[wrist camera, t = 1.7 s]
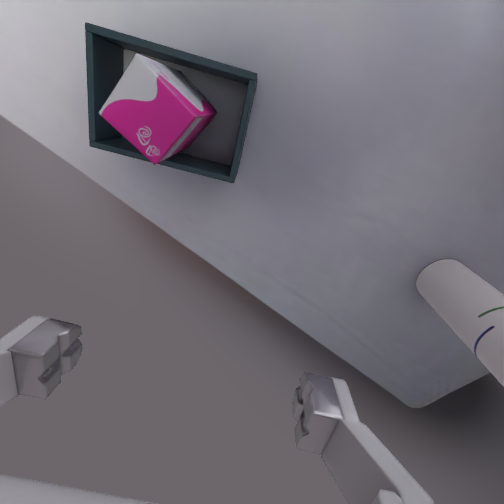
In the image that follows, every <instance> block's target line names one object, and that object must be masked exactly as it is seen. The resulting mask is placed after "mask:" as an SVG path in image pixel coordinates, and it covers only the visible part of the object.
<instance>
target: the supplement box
mask: <svg viewBox="0 0 504 504" xmlns="http://www.w3.org/2000/svg"><path fill="white" fill-rule="evenodd" d="M99 114H100V115H101V116H102V117H103V118H104V119H105V120H106V121H107V122H108V123H110V124H111V125H112V126H113V127H114V128H115V129H116V130H117V131H118V132H119V133H121V134H122V135H123V136H124V137H125V138H126V139H127V140H128V141H129V142H130V143H132V144H133V145H134V146H135V147H136V148H137V149H138V150H139V151H140V152H141V153H142V154H143V155H145V156H146V157H147V158H148V159H149V160H150V161H151V162H152V163H153V164H154V165H155V164H158V163H160V162H162V161H163V160H165V159H167V158H169V157H171V156H173V155H174V154H176V153H178V152H180V151H182V150H184V149H186V148H188V147H189V145H190V144H191V143H192V142H193V141H194V140H195V139H196V137H197V136H198V135H199V134H200V133H201V132H202V131H203V129H204V128H205V127H206V126H207V125H208V124H209V122H210V121H211V120H212V119H213V118H214V117H215V115H216V114H217V112H216V110H215V109H214V108H213V107H212V105H211V104H210V103H209V102H208V101H207V100H206V99H205V97H204V96H203V95H202V94H201V93H200V92H199V91H198V90H197V89H196V87H195V86H194V85H193V84H192V83H191V82H190V81H189V80H188V79H187V78H186V77H185V76H184V75H183V73H182V72H181V71H178V70H175V69H173V68H170V67H168V66H166V65H163V64H161V63H159V62H157V61H154V60H152V59H149V58H147V57H145V56H142V55H140V54H138V53H136V55H135V56H134V58H133V59H132V61H131V63H130V64H129V66H128V67H127V69H126V71H125V72H124V74H123V76H122V77H121V79H120V80H119V82H118V83H117V85H116V87H115V88H114V90H113V92H112V93H111V95H110V96H109V98H108V99H107V101H106V102H105V104H104V105H103V107H102V108H101V110H100V111H99Z"/></svg>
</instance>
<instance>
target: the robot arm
mask: <svg viewBox="0 0 504 504" xmlns="http://www.w3.org/2000/svg"><path fill="white" fill-rule="evenodd" d="M81 334H82V331H81V326H79V325H77V324H73V323H68V322H64V321H60V320H55V319H50V318H45V317H42V316H38V315H37V316H32V317H30V318H29V319H28V320H26V321H25V322H23V323H22V324H20V325H19V326H17V327H16V328H15V329H13V330H12V331H11V332H9V333H8V334H6V335H5V336H4V337H2V338H1V339H0V406H2V405H4V404H6V403H7V402H9V401H11V400H13V399H14V398H16V397H18V395H23V396H29V397H35V398H41V399H46V398H47V397H48V396H49V395H50V394H51V393H52V392H53V390H54V389H55V388H56V387H57V386H58V385H59V384H60V383H61V375H63V374H66V373H67V372H70V371H71V370H72V369H73V368H74V366H75V365H76V364H77V362H78V360H79V358H80V356H81V352H82V343H81V342H80V340H79V339H78V337H79V336H80V335H81ZM300 385H301V386H299V387H298V388H296V391H295V393H294V398H293V417H294V418H295V420H296V421H297V424H296V427H295V429H294V430H295V440H296V448H297V450H301V451H305V452H310V453H314V454H318V455H321V458H322V459H323V461H324V463H325V465H326V466H327V468H328V470H329V472H330V473H331V475H332V477H333V478H334V480H335V482H336V483H337V485H338V487H339V489H340V491H341V492H342V494H343V496H344V498H345V499H346V501H347V502H348V504H434V502H433V500H432V498H431V497H430V496H429V495H428V494H427V493H426V492H425V490H424V489H423V488H422V487H421V486H420V485H419V484H418V483H417V482H416V480H415V479H414V478H413V477H412V476H411V475H410V474H409V473H408V472H407V470H406V469H405V468H404V467H403V466H402V465H401V464H400V463H399V462H398V461H397V459H396V458H395V457H394V456H393V455H392V454H391V453H390V452H389V450H388V449H387V448H386V447H385V446H384V445H383V444H382V443H381V442H380V441H379V439H378V438H377V437H376V436H375V435H374V434H373V433H372V432H371V431H370V430H369V428H368V427H367V426H366V425H365V424H362V423H360V421H359V418H358V415H357V412H356V409H355V406H354V404H353V400H352V398H351V395H350V392H349V389H348V386H347V383H346V382H345V380H342V379H336V378H332V377H331V378H330V377H326V376H321V375H316V374H311V373H306V372H304V373H303V374H302V375H301V378H300ZM0 504H157V503H152V502H146V501H141V500H136V499H130V498H125V497H119V496H114V495H109V494H104V493H98V492H93V491H88V490H83V489H77V488H72V487H66V486H61V485H56V484H51V483H45V482H40V481H34V480H29V479H24V478H19V477H14V476H8V475H3V474H0Z"/></svg>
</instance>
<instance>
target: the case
mask: <svg viewBox="0 0 504 504" xmlns="http://www.w3.org/2000/svg"><path fill="white" fill-rule="evenodd" d="M85 30H86V32H85V34H86V61H87V88H88V114H89V140H90V147H94V148H98V149H102V150H106V151H110V152H114V153H118V154H121V155H125V156H129V157H133V158H137V159H141V160H145V161H149V162H151V161H150V160H149V159H148V158H147V157H146V156H145V155H143V154H142V153H141V152H140V151H139V150H138V149H137V148H136V147H135V146H134V145H133V144H132V143H130V142H129V141H128V140H127V139H126V138H122V134H121V133H119V132H118V131H117V130H116V129H115V128H114V127H113V126H112V125H111V124H110V123H108V122H107V121H106V120H105V119H104V118H103V117H102V116H101V115H100V114H99V111H100V110H101V108H102V107H103V105H104V104H105V102H106V101H107V99H108V98H109V96H110V95H111V93H112V92H113V90H114V88H115V87H116V85H117V83H118V82H119V80H120V79H121V77H122V76H123V48H125V49H128V50H131V51H135V52H138V53H142V54H145V55H148V56H152V57H155V58H159V59H162V60H165V61H169V62H172V63H176V64H179V65H182V66H186V67H189V68H193V69H196V70H199V71H203V72H206V73H210V74H213V75H216V76H220V77H223V78H227V79H230V80H233V81H237V82H240V83H244V84H247V85H248V88H247V93H246V98H245V103H244V108H243V113H242V118H241V122H240V127H239V132H238V137H237V142H236V147H235V151H234V156H233V161H232V166H229V165H225V164H221V163H217V162H214V161H210V160H206V159H202V158H198V157H195V156H191V155H187V154H183V153H179V152H178V153H176V154H174V155H173V156H171V157H169V158H167V159H165V160H163V161H162V162H160V163H158V164H160V165H164V166H168V167H172V168H176V169H180V170H184V171H188V172H192V173H196V174H199V175H203V176H207V177H211V178H215V179H219V180H223V181H227V182H231V183H234V181H235V178H236V175H237V172H238V168H239V164H240V159H241V154H242V150H243V145H244V141H245V136H246V132H247V127H248V123H249V118H250V113H251V109H252V104H253V100H254V95H255V91H256V86H257V73H253V72H250V71H247V70H243V69H240V68H237V67H233V66H230V65H227V64H223V63H220V62H217V61H213V60H210V59H207V58H203V57H200V56H197V55H193V54H190V53H187V52H183V51H180V50H177V49H173V48H170V47H166V46H163V45H160V44H156V43H153V42H150V41H146V40H143V39H140V38H136V37H133V36H130V35H126V34H123V33H120V32H116V31H113V30H110V29H106V28H103V27H100V26H96V25H93V24H90V23H85Z"/></svg>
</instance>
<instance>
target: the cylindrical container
mask: <svg viewBox="0 0 504 504" xmlns="http://www.w3.org/2000/svg"><path fill="white" fill-rule="evenodd" d="M416 288H417V290H418V292H419V293H420V294H421V295H422V296H423V297H424V299H425V300H426V301H427V302H428V303H429V304H430V305H431V306H432V307H433V309H434V310H435V311H436V312H437V313H438V314H439V315H440V316H441V317H442V319H443V320H444V321H445V322H446V323H447V324H448V325H449V326H450V327H451V329H452V330H453V331H454V332H455V333H456V334H457V335H458V336H459V338H460V339H461V340H462V341H463V342H464V343H465V344H466V345H467V346H468V348H469V349H470V350H471V351H472V352H473V353H474V354H475V355H476V356H477V357H478V359H479V360H480V361H481V362H482V363H483V364H484V365H485V366H486V368H487V369H488V370H489V371H490V372H491V373H492V374H493V375H494V376H495V377H496V379H497V380H498V381H499V382H500V383H501V384H502V385H503V386H504V295H503V294H502V293H501V292H499V291H498V290H497V289H495V288H494V287H493V286H491V285H490V284H489V283H487V282H486V281H484V280H483V279H482V278H480V277H479V276H478V275H476V274H475V273H474V272H472V271H471V270H470V269H468V268H467V267H465V266H464V265H463V264H461V263H460V262H458V261H456V260H452V259H444V260H439V261H436V262H434V263H432V264H430V265H428V266H427V267H425V268H424V269H423V270H422V271H421V273H420V274H419V276H418V277H417V281H416Z"/></svg>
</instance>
